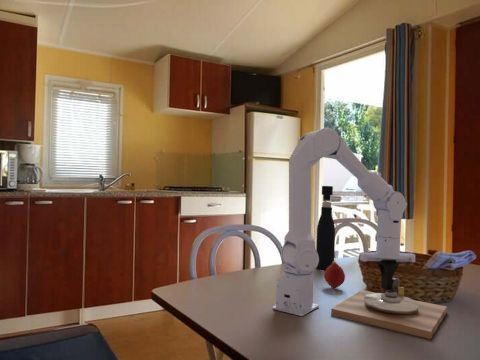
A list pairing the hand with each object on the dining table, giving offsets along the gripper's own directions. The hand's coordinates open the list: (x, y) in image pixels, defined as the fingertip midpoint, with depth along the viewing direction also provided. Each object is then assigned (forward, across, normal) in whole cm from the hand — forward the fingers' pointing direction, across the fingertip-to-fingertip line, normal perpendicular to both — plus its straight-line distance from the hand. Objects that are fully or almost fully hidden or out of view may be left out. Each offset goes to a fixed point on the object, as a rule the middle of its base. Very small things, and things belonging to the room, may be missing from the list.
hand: (386, 289), depth 100 cm
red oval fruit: (+4, +8, -14) cm, 17 cm away
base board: (+4, +4, +8) cm, 10 cm away
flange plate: (+2, +2, +6) cm, 7 cm away
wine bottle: (+4, +1, -39) cm, 40 cm away
